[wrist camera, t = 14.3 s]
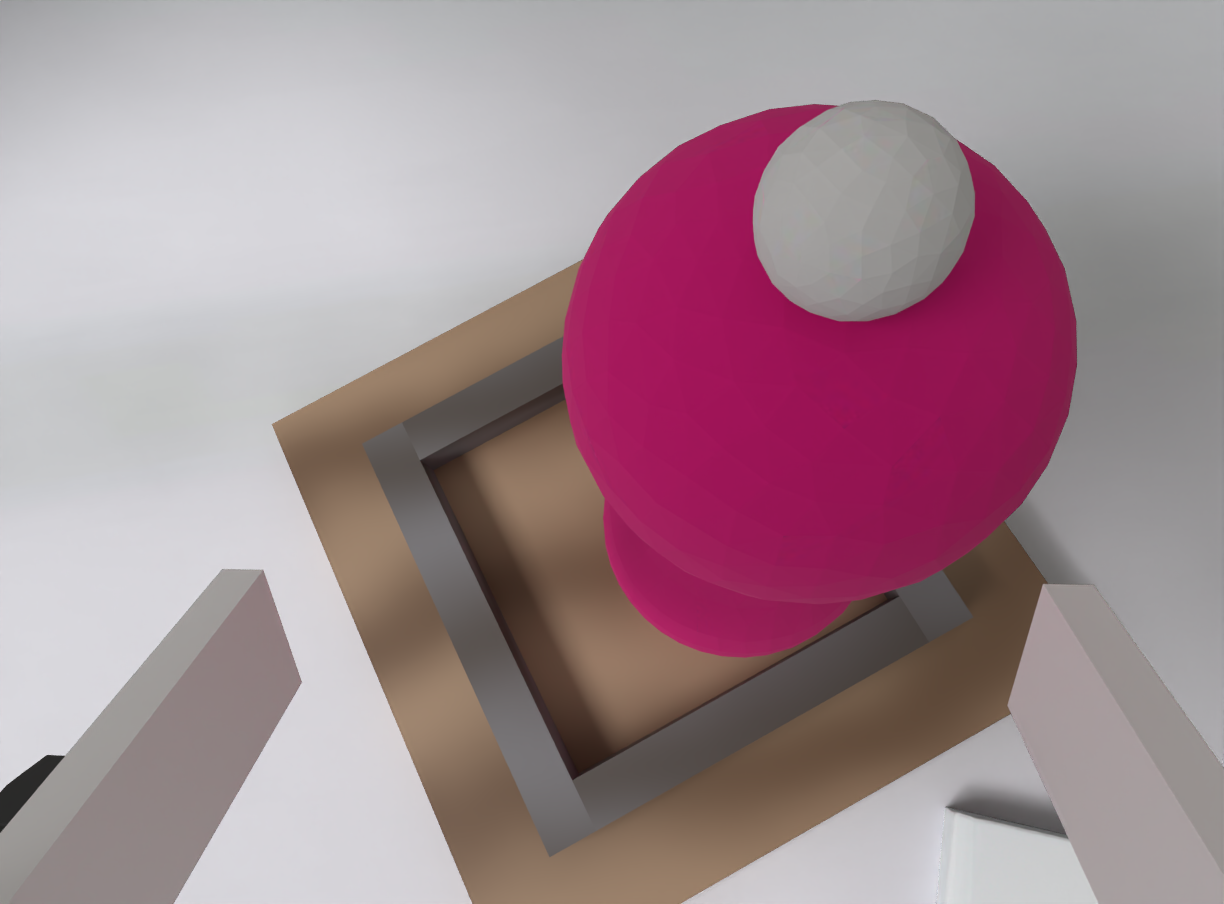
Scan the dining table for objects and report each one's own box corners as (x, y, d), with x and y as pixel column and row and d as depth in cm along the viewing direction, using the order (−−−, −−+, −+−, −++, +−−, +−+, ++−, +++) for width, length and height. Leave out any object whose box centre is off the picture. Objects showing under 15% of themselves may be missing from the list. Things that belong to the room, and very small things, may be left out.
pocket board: (288, 433, 29) (250, 412, 26) (752, 187, 30) (758, 143, 27) (521, 982, 23) (501, 1021, 21) (1082, 660, 24) (1128, 661, 22)
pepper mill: (827, 676, 24) (1494, 766, 4) (597, 635, 24) (293, 555, 5) (851, 452, 25) (1397, -202, 6) (635, 421, 26) (511, -232, 7)
